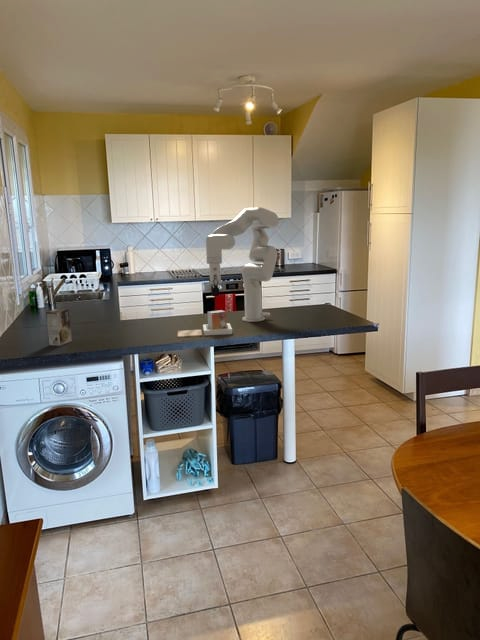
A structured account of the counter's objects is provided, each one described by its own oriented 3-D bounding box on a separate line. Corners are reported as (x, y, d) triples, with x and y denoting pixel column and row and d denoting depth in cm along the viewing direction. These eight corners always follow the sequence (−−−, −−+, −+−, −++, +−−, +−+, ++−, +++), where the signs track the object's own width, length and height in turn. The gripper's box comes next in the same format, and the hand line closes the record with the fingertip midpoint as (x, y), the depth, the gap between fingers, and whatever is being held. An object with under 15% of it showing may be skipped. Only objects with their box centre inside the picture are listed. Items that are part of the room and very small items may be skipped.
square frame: (229, 327, 255) (229, 323, 254) (232, 333, 241) (232, 329, 240) (203, 329, 253) (202, 324, 253) (204, 335, 240) (203, 330, 239)
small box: (212, 333, 243) (211, 313, 241) (207, 331, 248) (207, 311, 246) (226, 331, 246) (226, 311, 244) (222, 329, 251) (221, 309, 249)
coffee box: (61, 340, 239) (57, 308, 235) (72, 341, 237) (69, 308, 233) (49, 345, 230) (45, 311, 227) (60, 345, 228) (56, 312, 225)
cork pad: (201, 330, 250) (201, 329, 250) (202, 336, 238) (202, 334, 238) (178, 331, 249) (177, 330, 249) (177, 337, 237) (177, 336, 237)
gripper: (223, 261, 231) (224, 296, 235) (220, 259, 248) (221, 292, 252) (207, 261, 231) (208, 297, 234) (205, 259, 248) (207, 292, 251)
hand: (215, 294), depth 243 cm, fingers open, 9 cm apart
